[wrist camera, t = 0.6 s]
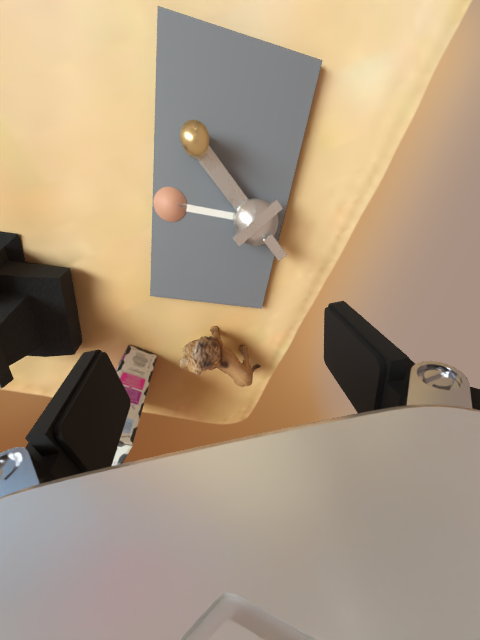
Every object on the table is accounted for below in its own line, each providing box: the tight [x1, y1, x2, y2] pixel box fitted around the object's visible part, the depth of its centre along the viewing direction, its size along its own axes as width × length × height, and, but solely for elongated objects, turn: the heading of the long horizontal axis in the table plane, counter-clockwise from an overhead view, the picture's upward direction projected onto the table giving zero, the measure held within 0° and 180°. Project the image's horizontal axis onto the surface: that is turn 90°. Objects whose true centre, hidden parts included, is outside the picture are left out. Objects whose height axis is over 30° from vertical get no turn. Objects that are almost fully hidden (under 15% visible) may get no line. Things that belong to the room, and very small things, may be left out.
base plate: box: [150, 6, 322, 309], centre depth 31 cm, size 28×16×1 cm, turn 169°
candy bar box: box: [112, 345, 157, 466], centre depth 35 cm, size 11×5×16 cm, turn 149°
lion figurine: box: [180, 326, 260, 387], centre depth 38 cm, size 15×5×9 cm, turn 55°
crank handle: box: [180, 120, 287, 261], centre depth 28 cm, size 16×6×5 cm, turn 39°
